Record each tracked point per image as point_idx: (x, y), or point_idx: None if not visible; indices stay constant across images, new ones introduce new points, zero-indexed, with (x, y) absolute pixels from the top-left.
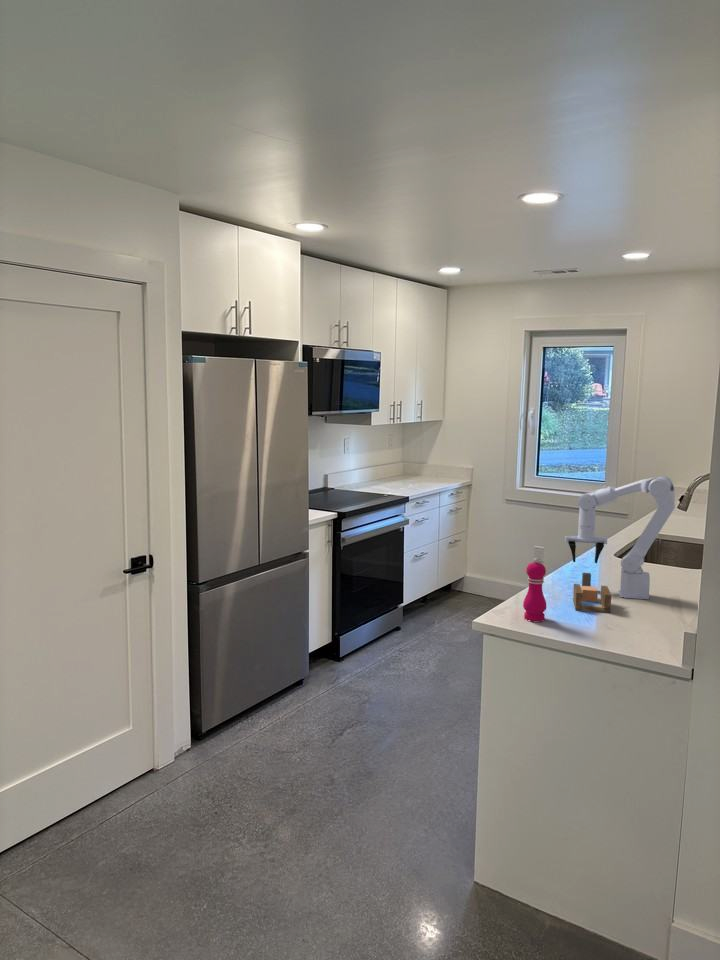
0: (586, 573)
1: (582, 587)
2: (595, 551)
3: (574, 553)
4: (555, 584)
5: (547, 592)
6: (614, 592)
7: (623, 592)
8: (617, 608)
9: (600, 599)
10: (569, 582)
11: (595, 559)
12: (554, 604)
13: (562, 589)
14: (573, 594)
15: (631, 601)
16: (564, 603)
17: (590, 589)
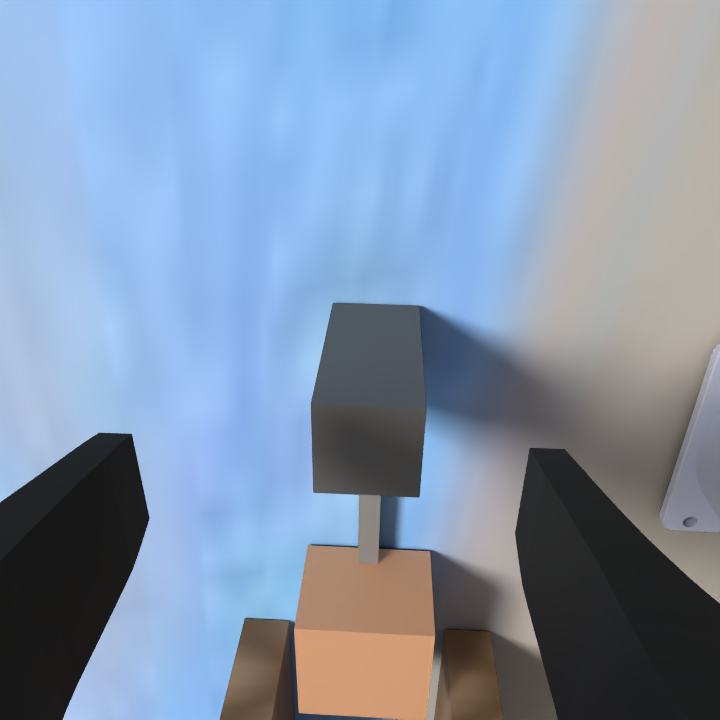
0: (366, 438)
1: (300, 666)
2: (614, 602)
3: (51, 703)
4: (34, 180)
5: (21, 469)
6: (666, 367)
7: (715, 512)
8: (537, 708)
9: (446, 649)
10: (191, 33)
11: (531, 587)
12: (125, 690)
13: (137, 360)
14: (234, 672)
15: (713, 580)
16: (187, 669)
17: (366, 701)
